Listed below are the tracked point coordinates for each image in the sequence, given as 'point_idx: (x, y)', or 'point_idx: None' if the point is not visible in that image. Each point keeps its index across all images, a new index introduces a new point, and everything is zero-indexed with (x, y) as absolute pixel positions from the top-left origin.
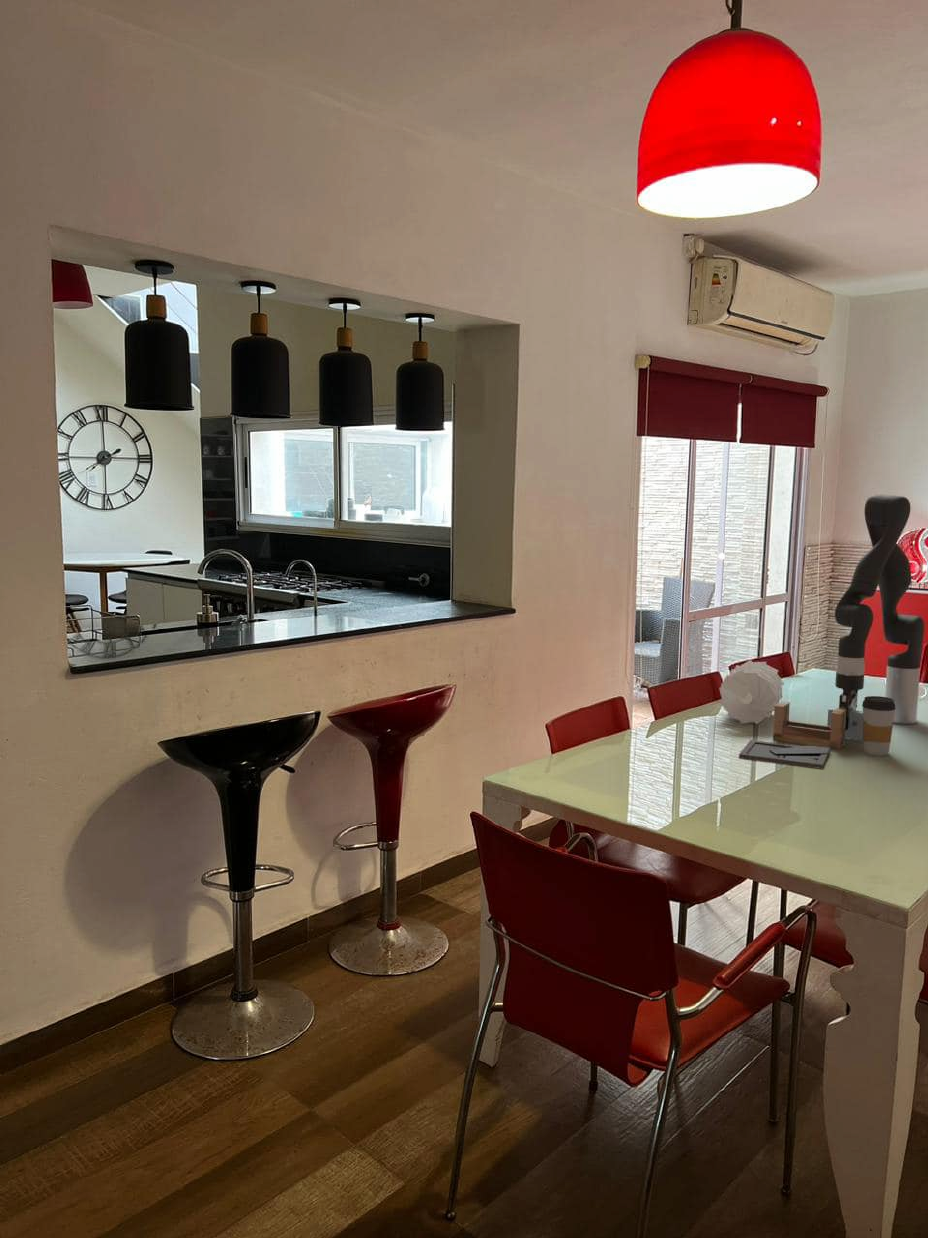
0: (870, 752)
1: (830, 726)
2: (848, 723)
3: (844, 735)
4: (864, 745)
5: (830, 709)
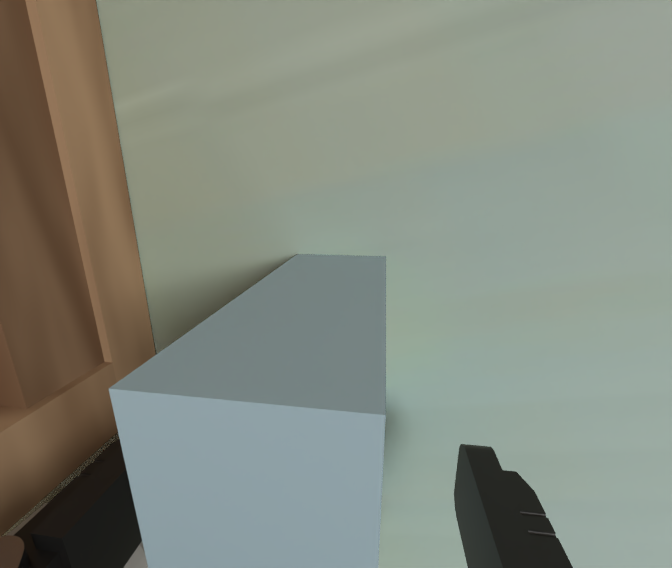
0: None
1: (8, 363)
2: (137, 532)
3: (106, 432)
4: (10, 532)
5: (142, 434)
